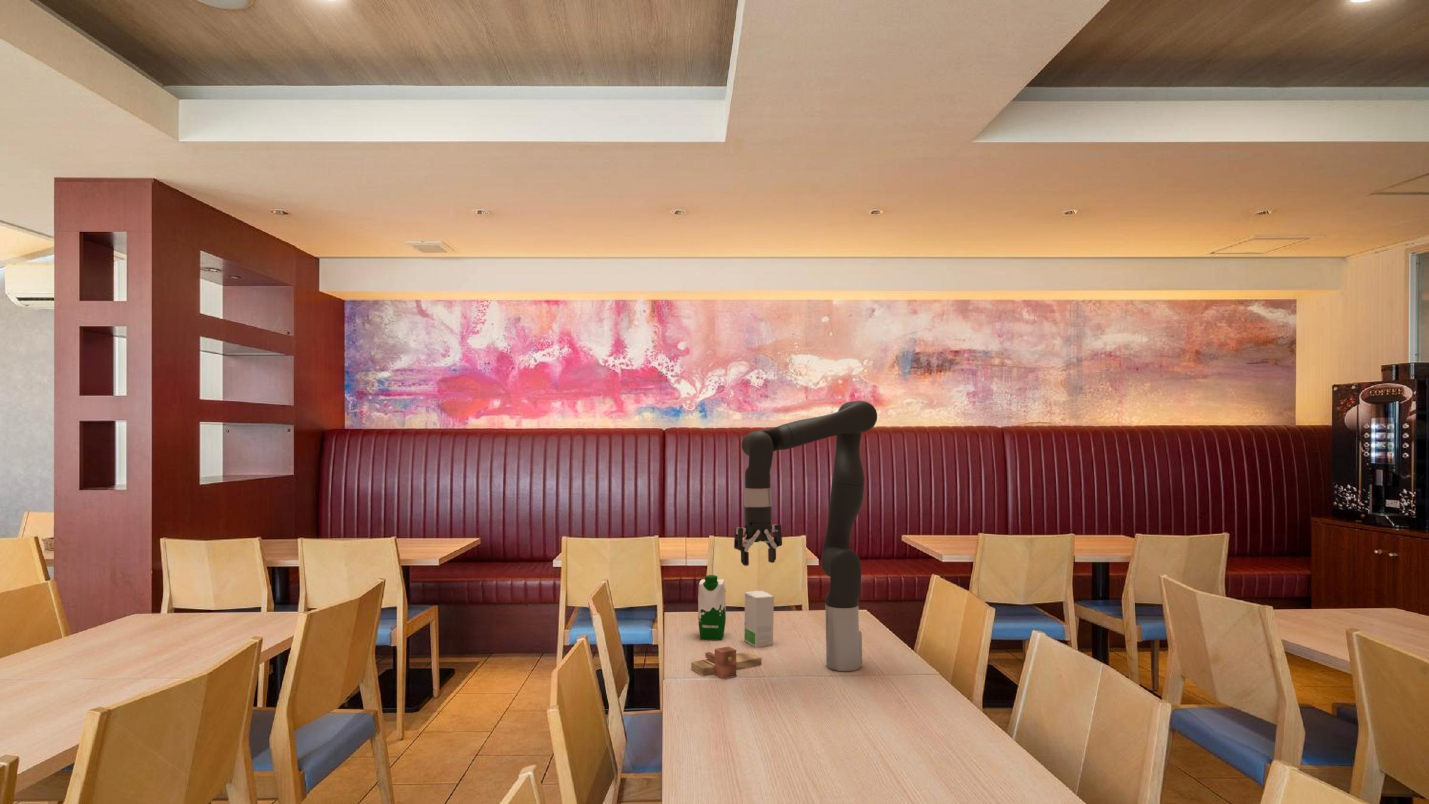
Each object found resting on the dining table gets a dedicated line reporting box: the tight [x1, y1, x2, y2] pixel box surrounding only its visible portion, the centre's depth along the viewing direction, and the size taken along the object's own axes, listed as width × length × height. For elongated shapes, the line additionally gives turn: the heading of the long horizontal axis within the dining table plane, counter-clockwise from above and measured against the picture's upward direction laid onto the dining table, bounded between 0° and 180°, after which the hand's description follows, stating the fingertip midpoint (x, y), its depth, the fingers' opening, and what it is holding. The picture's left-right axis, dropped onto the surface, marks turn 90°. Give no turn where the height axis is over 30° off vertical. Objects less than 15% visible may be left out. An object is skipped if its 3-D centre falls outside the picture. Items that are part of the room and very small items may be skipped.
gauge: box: [704, 645, 737, 680], centre depth 204 cm, size 4×13×7 cm, turn 30°
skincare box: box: [743, 590, 775, 649], centre depth 232 cm, size 8×7×16 cm
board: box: [690, 651, 763, 677], centre depth 208 cm, size 19×7×2 cm, turn 120°
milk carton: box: [697, 574, 727, 641], centre depth 240 cm, size 9×9×20 cm
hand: (758, 563), depth 202 cm, fingers open, 8 cm apart
